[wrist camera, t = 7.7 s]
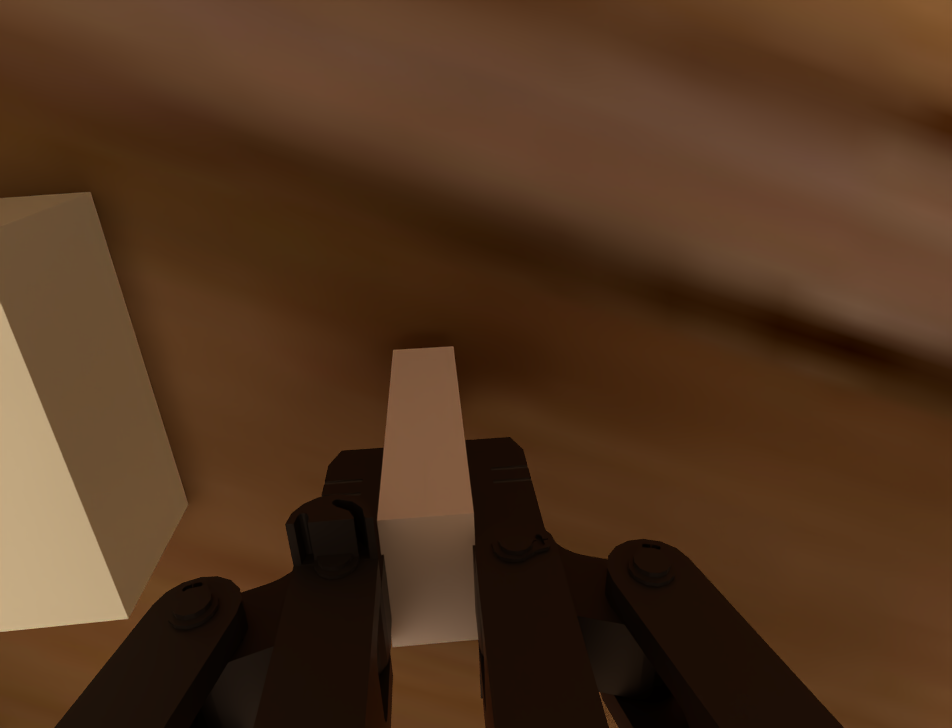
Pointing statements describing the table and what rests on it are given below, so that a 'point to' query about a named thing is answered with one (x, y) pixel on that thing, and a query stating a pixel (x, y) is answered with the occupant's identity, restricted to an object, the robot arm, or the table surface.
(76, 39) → the table surface
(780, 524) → the table surface
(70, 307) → the block
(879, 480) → the table surface
